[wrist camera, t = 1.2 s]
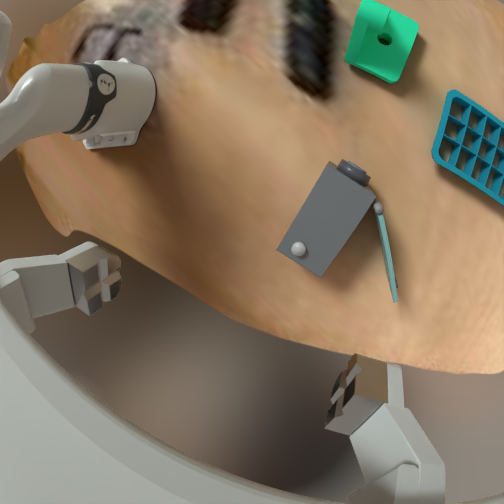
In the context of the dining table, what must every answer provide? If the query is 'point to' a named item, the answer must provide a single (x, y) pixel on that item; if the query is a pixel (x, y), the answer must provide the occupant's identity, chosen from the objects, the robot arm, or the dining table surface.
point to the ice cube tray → (484, 117)
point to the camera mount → (371, 50)
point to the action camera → (328, 216)
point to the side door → (385, 247)
